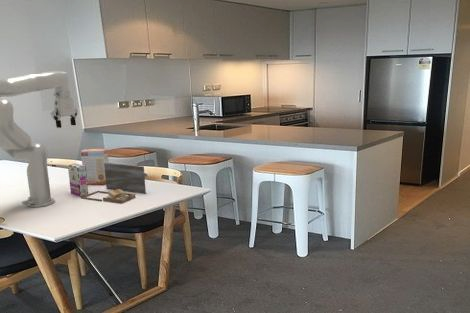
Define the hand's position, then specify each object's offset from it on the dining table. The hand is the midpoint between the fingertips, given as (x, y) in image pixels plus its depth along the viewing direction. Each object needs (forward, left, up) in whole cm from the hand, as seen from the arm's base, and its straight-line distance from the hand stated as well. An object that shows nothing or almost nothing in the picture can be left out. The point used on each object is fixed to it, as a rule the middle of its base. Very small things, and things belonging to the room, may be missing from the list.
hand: (66, 126), depth 223 cm
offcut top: (-7, -38, -34) cm, 51 cm away
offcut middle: (-7, -38, -36) cm, 53 cm away
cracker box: (+16, -3, -37) cm, 40 cm away
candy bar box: (-4, -9, -37) cm, 38 cm away
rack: (-3, -32, -37) cm, 49 cm away
